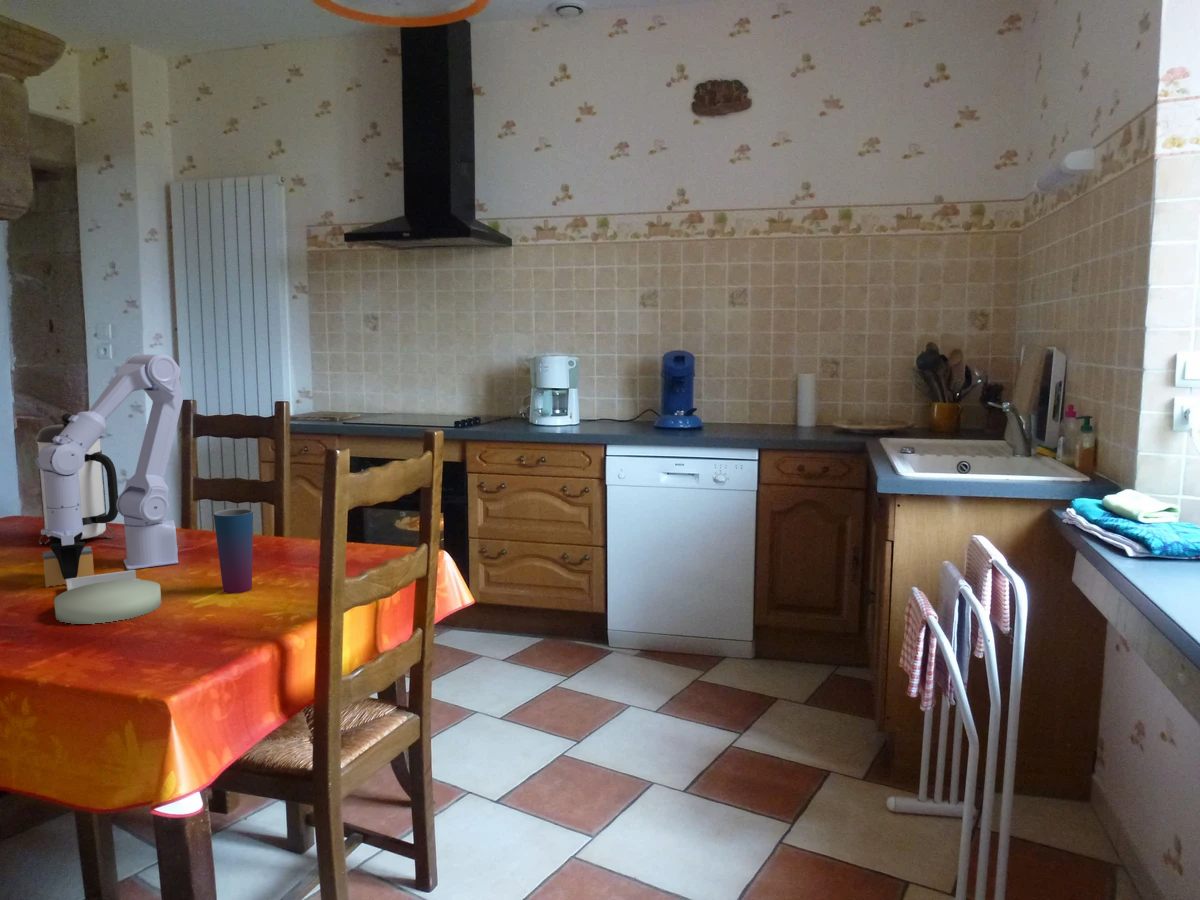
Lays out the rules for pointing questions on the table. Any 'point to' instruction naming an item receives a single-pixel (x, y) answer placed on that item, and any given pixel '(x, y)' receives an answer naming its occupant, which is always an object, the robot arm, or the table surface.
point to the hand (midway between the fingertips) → (69, 574)
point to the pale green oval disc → (106, 598)
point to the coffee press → (86, 484)
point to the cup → (235, 548)
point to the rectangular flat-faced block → (54, 571)
